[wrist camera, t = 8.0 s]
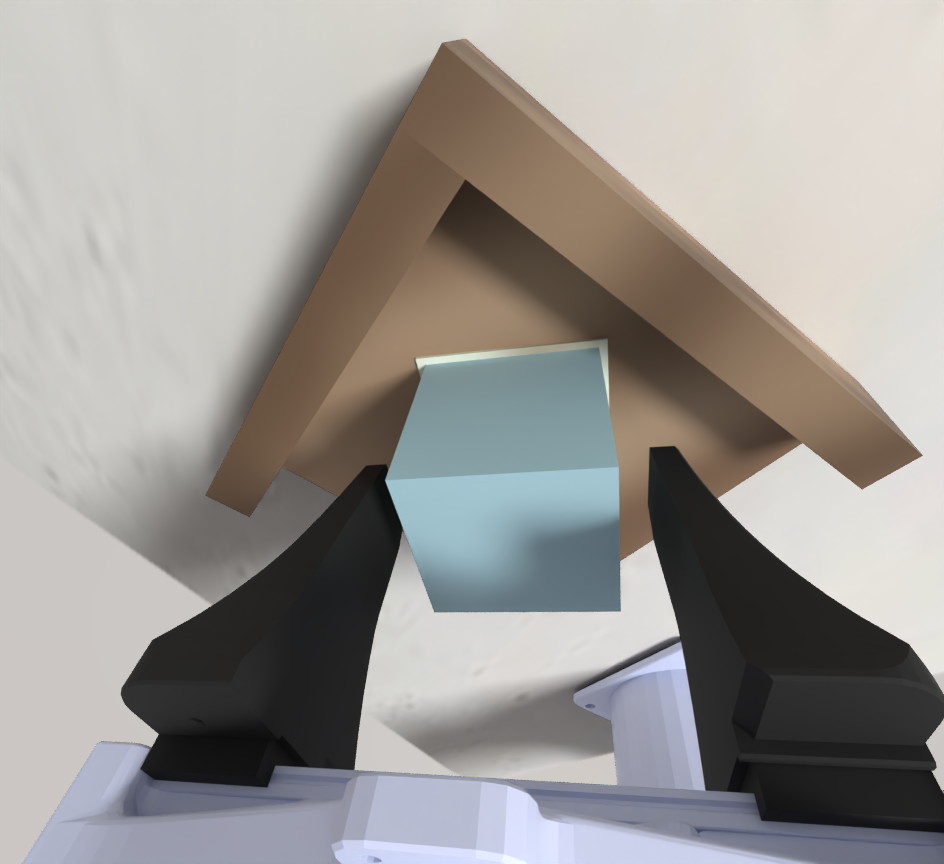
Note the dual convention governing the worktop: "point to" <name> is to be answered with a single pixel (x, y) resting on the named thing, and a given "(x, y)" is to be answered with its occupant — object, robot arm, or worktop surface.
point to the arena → (540, 312)
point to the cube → (512, 485)
